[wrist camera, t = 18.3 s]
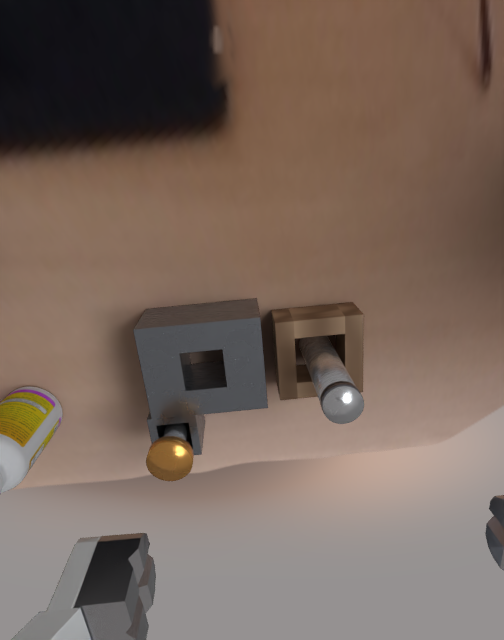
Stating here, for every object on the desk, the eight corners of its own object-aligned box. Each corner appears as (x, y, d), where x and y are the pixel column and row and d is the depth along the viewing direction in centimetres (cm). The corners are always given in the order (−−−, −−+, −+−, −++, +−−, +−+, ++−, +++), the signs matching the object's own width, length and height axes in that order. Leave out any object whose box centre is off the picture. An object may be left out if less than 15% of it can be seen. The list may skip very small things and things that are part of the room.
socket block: (256, 298, 43) (260, 317, 37) (266, 415, 48) (271, 447, 43) (141, 309, 43) (127, 330, 37) (164, 425, 48) (155, 459, 43)
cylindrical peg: (329, 327, 45) (364, 386, 32) (329, 355, 46) (364, 422, 34) (298, 330, 45) (322, 390, 32) (299, 358, 46) (323, 426, 34)
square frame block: (352, 302, 44) (363, 314, 40) (352, 374, 47) (362, 391, 43) (271, 310, 44) (274, 323, 40) (276, 381, 47) (280, 400, 43)
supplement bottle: (-2, 386, 45) (-86, 464, 33) (56, 381, 46) (-7, 457, 33) (15, 435, 48) (-58, 524, 36) (70, 430, 48) (16, 517, 36)
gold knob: (194, 405, 43) (189, 441, 37) (200, 438, 45) (195, 478, 39) (154, 409, 43) (142, 446, 37) (161, 442, 45) (150, 483, 39)
